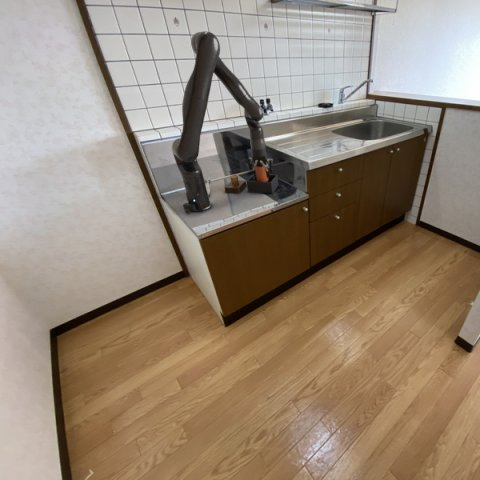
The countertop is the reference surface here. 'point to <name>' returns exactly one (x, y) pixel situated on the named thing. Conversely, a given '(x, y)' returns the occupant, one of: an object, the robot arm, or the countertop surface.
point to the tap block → (235, 187)
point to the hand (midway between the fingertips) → (262, 176)
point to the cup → (261, 174)
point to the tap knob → (234, 180)
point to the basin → (262, 184)
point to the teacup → (208, 185)
